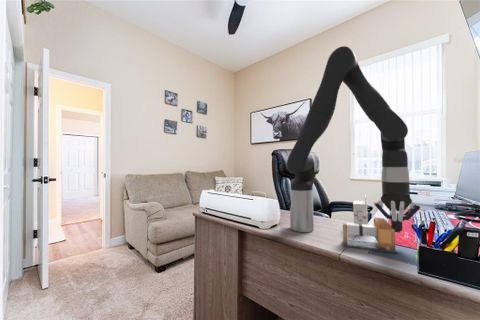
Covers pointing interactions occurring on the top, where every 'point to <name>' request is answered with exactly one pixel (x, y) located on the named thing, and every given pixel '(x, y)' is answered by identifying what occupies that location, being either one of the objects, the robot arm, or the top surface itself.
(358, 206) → the ink cartridge box
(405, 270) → the top surface
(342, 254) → the top surface
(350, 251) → the top surface
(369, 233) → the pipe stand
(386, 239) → the tan cardboard carton
